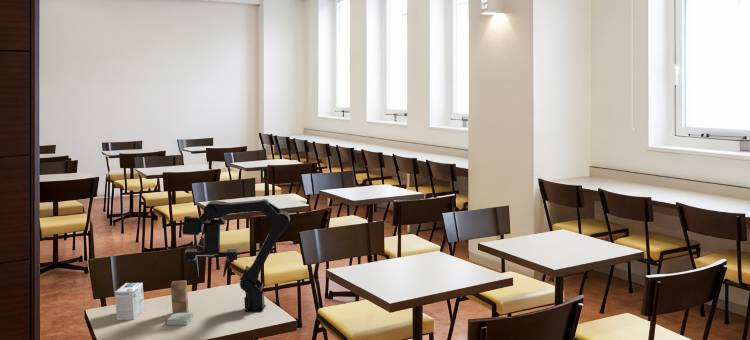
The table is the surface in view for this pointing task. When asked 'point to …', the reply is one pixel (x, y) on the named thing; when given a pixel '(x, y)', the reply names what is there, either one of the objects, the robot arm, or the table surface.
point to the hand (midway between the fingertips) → (210, 277)
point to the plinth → (180, 319)
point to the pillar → (179, 296)
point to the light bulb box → (129, 301)
